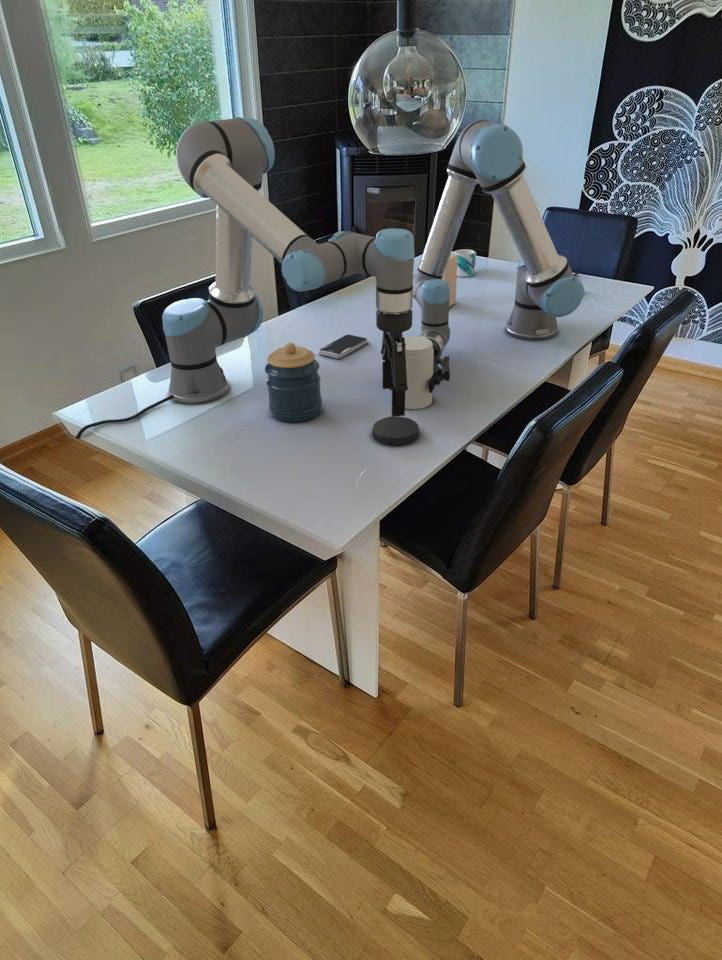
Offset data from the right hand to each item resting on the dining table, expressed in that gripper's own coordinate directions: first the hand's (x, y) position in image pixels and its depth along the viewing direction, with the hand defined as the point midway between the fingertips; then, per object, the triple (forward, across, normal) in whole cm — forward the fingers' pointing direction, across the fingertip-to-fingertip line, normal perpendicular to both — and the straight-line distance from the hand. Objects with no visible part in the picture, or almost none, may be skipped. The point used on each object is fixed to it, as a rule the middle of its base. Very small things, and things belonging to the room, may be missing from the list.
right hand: (409, 385), depth 162 cm
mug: (-118, +4, -6) cm, 118 cm away
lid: (+14, 0, -4) cm, 14 cm away
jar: (-4, 0, -6) cm, 8 cm away
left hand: (+13, +1, +2) cm, 14 cm away
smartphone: (-34, +28, -6) cm, 44 cm away
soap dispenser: (-80, +6, -6) cm, 81 cm away
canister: (+7, +27, -6) cm, 29 cm away
